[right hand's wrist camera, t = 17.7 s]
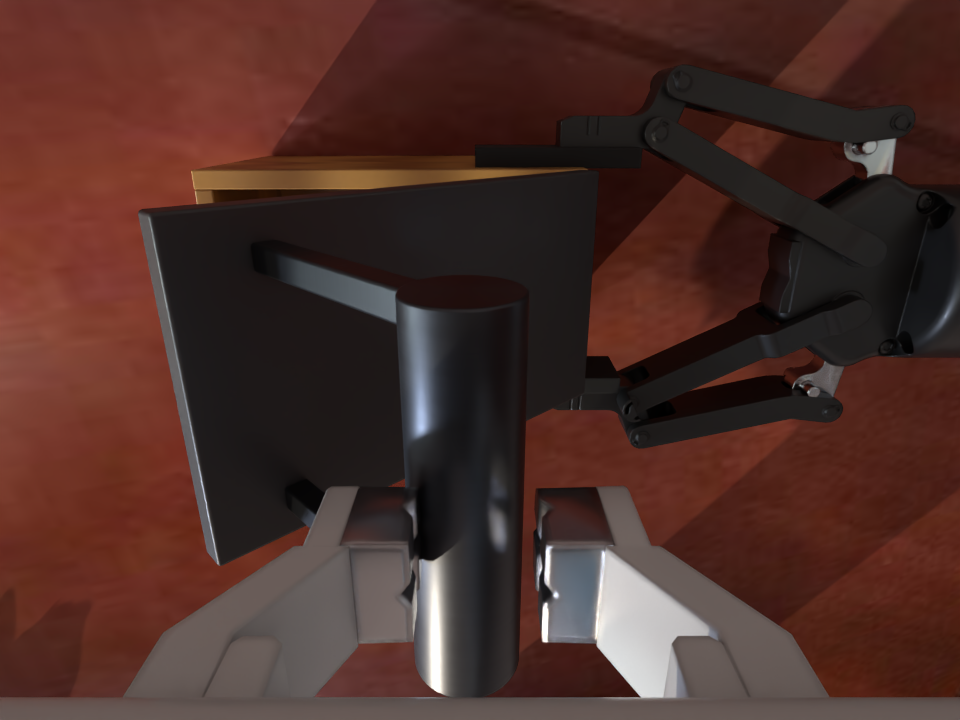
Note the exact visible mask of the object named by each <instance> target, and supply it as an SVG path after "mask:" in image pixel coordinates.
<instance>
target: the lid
mask: <svg viewBox="0 0 960 720" xmlns="http://www.w3.org/2000/svg"><path fill="white" fill-rule="evenodd" d="M598 180H599V172H598V171H594V170H573V171H562V172H551V173H540V174H529V175H518V176H507V177H495V178H484V179H473V180H462V181H451V182H440V183H428V184H417V185H406V186H395V187H384V188H373V189H362V190H350V191H339V192H328V193H317V194H306V195H295V196H284V197H272V198H261V199H250V200H239V201H228V202H217V203H205V204H194V205H183V206H172V207H161V208H150V209H142V210H140V211H139V213H138V216H139V221H140V225H141V230H142V235H143V240H144V245H145V250H146V255H147V260H148V264H149V269H150V274H151V279H152V284H153V289H154V294H155V299H156V303H157V308H158V313H159V318H160V323H161V328H162V333H163V338H164V343H165V347H166V352H167V357H168V362H169V367H170V372H171V377H172V382H173V386H174V391H175V396H176V401H177V406H178V411H179V416H180V421H181V426H182V430H183V435H184V440H185V445H186V450H187V455H188V460H189V465H190V469H191V474H192V479H193V484H194V489H195V494H196V499H197V504H198V509H199V513H200V518H201V523H202V528H203V533H204V538H205V543H206V548H207V552H208V553H209V554H210V556H211V557H212V558H213V559H214V560H215V562H216V563H217V564H218V565H219V566H221V565H224V564H226V563H228V562H230V561H232V560H235V559H237V558H239V557H241V556H243V555H245V554H247V553H249V552H251V551H254V550H256V549H258V548H260V547H262V546H264V545H266V544H268V543H270V542H272V541H275V540H277V539H279V538H281V537H283V536H285V535H287V534H289V533H291V532H293V531H296V530H298V529H300V528H302V527H304V526H306V525H307V526H308V527H309V528H311V526H312V524H313V521H314V519H315V516H316V514H317V512H318V509H319V507H320V505H321V502H322V500H323V497H324V495H325V493H326V490H327V489H328V488H330V487H331V486H359V487H361V486H368V487H388V486H390V485H392V484H394V483H397V482H399V481H401V480H403V479H405V486H406V487H417V488H419V495H420V521H419V528H418V530H419V532H420V534H421V537H422V573H421V583H420V589H419V590H418V591H417V615H416V622H415V629H414V650H415V663H416V667H417V670H418V672H419V674H420V676H421V677H422V679H423V680H424V681H425V683H426V684H427V685H428V686H429V687H431V688H432V689H433V690H435V691H436V692H438V693H440V694H442V695H445V696H448V697H459V698H481V697H485V696H487V695H490V694H492V693H494V692H496V691H498V690H499V689H500V688H502V687H503V686H504V685H505V684H506V683H507V682H508V681H509V680H510V679H511V677H512V676H513V674H514V672H515V671H516V668H517V665H518V661H519V639H520V604H521V570H522V536H523V502H524V468H525V433H526V421H527V420H529V419H531V418H533V417H535V416H537V415H540V414H542V413H544V412H546V411H548V410H550V409H552V408H554V407H556V406H559V405H561V404H563V403H565V402H567V401H569V400H571V399H573V398H575V397H577V396H580V395H582V394H583V393H584V388H585V373H586V358H587V343H588V328H589V313H590V299H591V284H592V269H593V254H594V239H595V224H596V210H597V195H598Z"/></svg>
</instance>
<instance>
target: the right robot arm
mask: <svg viewBox="0 0 960 720" xmlns="http://www.w3.org/2000/svg"><path fill="white" fill-rule="evenodd" d="M534 510H535V518H536V526H537V528H536V530H535V531H534V535H533V567H534V579H535V588H536V590H537V591H538V592H539V595H538V613H539V621H540V629H541V636H542V642H561V643H597V647H598V648H599V649H600V650H601V652H602V653H603V654H604V655H605V656H606V657H607V659H608V660H609V661H610V662H611V663H612V664H613V666H614V667H615V668H616V669H617V670H618V671H619V672H620V674H621V675H622V676H623V677H624V678H625V679H626V681H627V682H628V683H629V684H630V685H631V686H632V687H633V689H634V690H635V691H636V692H637V693H638V694H639V696H640V697H521V698H459V697H314V696H315V695H316V694H317V693H318V692H319V691H320V690H321V688H322V687H323V686H324V685H325V684H326V683H327V682H328V680H329V679H330V678H331V677H332V676H333V675H334V674H335V672H336V671H337V670H338V669H339V668H340V667H341V666H342V664H343V663H344V662H345V661H346V660H347V659H348V658H349V656H350V655H351V654H352V653H353V652H354V651H355V650H356V648H357V647H358V643H392V642H413V636H414V629H415V622H416V615H417V591H418V590H419V589H420V583H421V573H422V537H421V534H420V532H419V530H418V528H419V521H420V495H419V488H417V487H368V486H361V487H359V486H331V487H330V488H328V489H327V490H326V493H325V495H324V497H323V500H322V502H321V505H320V507H319V509H318V512H317V514H316V516H315V519H314V521H313V524H312V526H311V528H310V531H309V533H308V535H307V538H306V540H305V543H304V545H303V546H294V547H292V548H291V549H289V550H288V551H286V552H285V553H283V554H282V555H280V556H279V557H277V558H276V559H274V560H273V561H271V562H270V563H268V564H267V565H265V566H264V567H262V568H260V569H259V570H257V571H256V572H254V573H253V574H251V575H250V576H248V577H247V578H245V579H244V580H242V581H241V582H239V583H238V584H236V585H235V586H233V587H232V588H230V589H229V590H227V591H226V592H224V593H223V594H221V595H220V596H218V597H217V598H215V599H214V600H212V601H211V602H209V603H208V604H206V605H205V606H203V607H202V608H200V609H199V610H197V611H195V612H194V613H192V614H191V615H189V616H188V617H186V618H185V619H183V620H182V621H180V622H179V623H177V624H176V625H174V626H173V627H171V628H170V629H168V630H167V631H165V632H164V633H163V634H162V635H161V637H160V638H159V640H158V642H157V643H156V645H155V646H154V648H153V650H152V651H151V653H150V654H149V656H148V658H147V659H146V661H145V662H144V664H143V666H142V667H141V669H140V670H139V672H138V674H137V675H136V677H135V678H134V680H133V682H132V683H131V685H130V686H129V688H128V690H127V691H126V693H125V694H124V696H123V697H0V720H960V697H829V695H828V694H827V692H826V691H825V689H824V687H823V686H822V684H821V682H820V681H819V679H818V677H817V676H816V674H815V672H814V671H813V669H812V667H811V666H810V664H809V662H808V661H807V659H806V658H805V656H804V654H803V653H802V651H801V649H800V648H799V646H798V644H797V643H796V641H795V639H794V638H793V636H792V634H790V633H789V632H787V631H786V630H784V629H783V628H781V627H780V626H778V625H777V624H775V623H774V622H773V621H771V620H770V619H768V618H767V617H765V616H764V615H762V614H761V613H759V612H758V611H756V610H755V609H753V608H752V607H750V606H749V605H747V604H746V603H744V602H743V601H741V600H740V599H738V598H737V597H735V596H734V595H732V594H731V593H729V592H728V591H726V590H725V589H723V588H722V587H720V586H719V585H717V584H716V583H714V582H713V581H711V580H710V579H708V578H707V577H705V576H704V575H702V574H701V573H699V572H698V571H696V570H695V569H694V568H692V567H691V566H689V565H688V564H686V563H685V562H683V561H682V560H680V559H679V558H677V557H676V556H674V555H673V554H671V553H670V552H668V551H667V550H665V549H664V548H662V547H661V546H651V544H650V541H649V539H648V537H647V534H646V532H645V529H644V527H643V524H642V522H641V520H640V517H639V515H638V512H637V510H636V507H635V505H634V503H633V500H632V498H631V495H630V493H629V491H628V488H626V487H625V486H604V487H578V488H536V493H535V508H534Z"/></svg>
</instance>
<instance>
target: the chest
mask: <svg viewBox="0 0 960 720" xmlns="http://www.w3.org/2000/svg"><path fill="white" fill-rule="evenodd" d="M573 170H588V169H586V168H584V167H526V168H475V156H266V157H261V158H255V159H250V160H244V161H239V162H234V163H228V164H223V165H217V166H212V167H206V168H201V169H195V170H192V171H191V173H192V178H193V184H194V189H197V190H195V194H196V200H197V204H205V203H217V202H228V201H239V200H250V199H261V198H272V197H284V196H295V195H306V194H317V193H328V192H339V191H350V190H362V189H373V188H384V187H395V186H406V185H417V184H428V183H440V182H451V181H462V180H473V179H484V178H495V177H507V176H518V175H529V174H540V173H551V172H562V171H573Z"/></svg>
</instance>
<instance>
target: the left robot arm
mask: <svg viewBox="0 0 960 720" xmlns="http://www.w3.org/2000/svg"><path fill="white" fill-rule="evenodd" d="M684 107H686V108H690V109H693V110H697V111H701V112H705V113H708V114H712V115H716V116H720V117H724V118H727V119H731V120H735V121H739V122H742V123H746V124H750V125H754V126H757V127H761V128H765V129H769V130H773V131H776V132H780V133H784V134H788V135H791V136H795V137H799V138H803V139H809V140H818V141H831V145H830V147H831V150H832V152H833V154H834V156H835V157H836V158H837V159H839V160H844V161H848V162H850V163H851V164H852V165H853V166H854V169H855V175H853V176H851V177H850V178H848V179H847V180H845V181H844V182H842V183H841V184H839V185H837V186H836V187H834V188H833V189H831V190H830V191H828V192H827V193H825V194H824V195H822V196H820V197H819V198H817V199H816V200H812V199H810V198H808V197H805V196H803V195H801V194H798V193H796V192H795V191H793V190H791V189H789V188H788V187H786V186H784V185H782V184H781V183H779V182H777V181H776V180H774V179H772V178H771V177H769V176H767V175H765V174H764V173H762V172H760V171H759V170H757V169H755V168H753V167H752V166H750V165H748V164H747V163H745V162H743V161H741V160H740V159H738V158H736V157H735V156H733V155H731V154H729V153H728V152H726V151H724V150H723V149H721V148H719V147H717V146H716V145H714V144H712V143H711V142H709V141H707V140H705V139H704V138H702V137H700V136H699V135H697V134H695V133H693V132H692V131H690V130H688V129H687V128H685V127H683V126H681V125H680V124H678V120H679V118H680V116H681V114H682V112H683V109H684ZM914 123H915V113H914V111H913V109H912V108H910V107H909V106H905V105H891V106H863V107H855V108H846V107H842V106H838V105H835V104H831V103H827V102H824V101H820V100H816V99H813V98H809V97H805V96H801V95H798V94H794V93H790V92H787V91H783V90H779V89H776V88H772V87H768V86H765V85H761V84H757V83H754V82H750V81H746V80H743V79H739V78H735V77H732V76H728V75H724V74H721V73H717V72H713V71H709V70H706V69H702V68H698V67H695V66H691V65H679V66H675V67H671V68H667V69H664V70H661V71H659V72H657V73H656V74H655V75H654V76H653V78H652V80H651V85H650V92H649V94H648V96H647V99H646V101H645V103H644V105H643V107H642V108H641V109H640V110H639V111H638V112H636V113H635V114H633V115H630V116H568V117H565V118H563V119H561V120H558V121H557V127H556V145H475V168H526V167H584V168H641V158H642V149H644V150H646V151H648V152H650V153H652V154H653V155H655V156H657V157H659V158H660V159H662V160H664V161H666V162H667V163H669V164H671V165H673V166H674V167H676V168H678V169H680V170H681V171H683V172H685V173H687V174H688V175H690V176H692V177H694V178H695V179H697V180H699V181H701V182H703V183H704V184H706V185H708V186H710V187H711V188H713V189H715V190H717V191H718V192H720V193H722V194H724V195H725V196H727V197H729V198H731V199H732V200H734V201H736V202H738V203H739V204H741V205H743V206H745V207H746V208H748V209H750V210H752V211H753V212H754V213H755V214H757V215H759V216H760V217H762V218H764V219H766V220H767V221H769V222H771V223H773V224H774V225H776V226H778V227H779V229H778V231H777V233H771V236H770V242H769V247H768V257H769V270H768V272H767V274H766V276H765V279H764V281H763V283H762V287H761V292H760V298H759V300H760V301H761V302H759V303H757V304H755V305H752V306H750V307H748V308H746V309H744V310H742V311H740V312H739V313H738V314H737V317H736V318H734V319H732V320H730V321H728V322H726V323H724V324H721V325H719V326H717V327H715V328H712V329H710V330H708V331H706V332H704V333H701V334H699V335H697V336H695V337H692V338H690V339H688V340H686V341H684V342H681V343H679V344H677V345H675V346H672V347H670V348H668V349H666V350H664V351H661V352H659V353H657V354H655V355H652V356H650V357H648V358H646V359H644V360H641V361H639V362H637V363H635V364H632V365H630V366H628V367H626V368H624V369H621V370H619V371H616V369H615V368H614V366H613V364H612V362H611V360H610V359H609V357H608V356H587V358H586V373H585V388H584V393H583V394H582V395H580V396H577V397H575V398H573V399H571V400H569V401H567V402H565V403H563V404H561V405H559V406H556V407H554V409H557V410H612V411H615V412H616V413H618V417H619V420H620V422H621V424H622V426H623V428H624V430H625V432H626V435H627V437H628V439H629V441H630V443H631V444H632V445H633V446H634V447H636V448H648V447H653V446H658V445H663V444H668V443H673V442H678V441H683V440H688V439H692V438H697V437H702V436H707V435H712V434H717V433H722V432H727V431H732V430H737V429H742V428H747V427H752V426H757V425H762V424H767V423H772V422H777V421H782V420H787V419H798V420H808V421H817V422H832V421H834V420H836V419H837V418H839V417H840V415H841V414H842V411H843V406H842V403H840V402H839V401H838V400H837V399H836V398H835V397H834V394H835V391H836V388H837V386H838V383H839V380H840V377H841V375H842V372H843V369H844V367H845V366H850V365H853V364H855V363H857V362H860V361H862V360H864V359H867V358H870V357H875V356H886V357H904V358H960V185H911V184H907V183H905V182H904V181H902V180H901V179H900V178H898V177H896V176H894V175H892V170H893V162H894V154H895V146H896V138H900V137H903V136H905V135H906V134H907V133H909V132H910V130H911V129H912V128H913V126H914ZM803 347H806V348H807V349H808V350H810V351H811V352H812V353H813V354H815V356H814V358H813V360H812V361H811V362H810V363H809V364H807V365H805V366H803V367H796V368H792V367H790V368H787V369H786V370H785V371H784V376H779V375H772V376H761V377H755V378H750V379H746V380H741V381H736V382H731V383H726V384H722V385H717V386H712V387H707V388H702V389H697V390H693V391H690V390H692V389H694V388H697V387H699V386H701V385H704V384H706V383H708V382H710V381H713V380H715V379H717V378H720V377H722V376H724V375H726V374H729V373H731V372H733V371H736V370H738V369H740V368H743V367H745V366H747V365H749V364H752V363H754V362H756V361H759V360H761V359H764V358H779V357H782V356H785V355H787V354H789V353H792V352H794V351H796V350H799V349H801V348H803ZM687 391H688V392H687Z"/></svg>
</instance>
